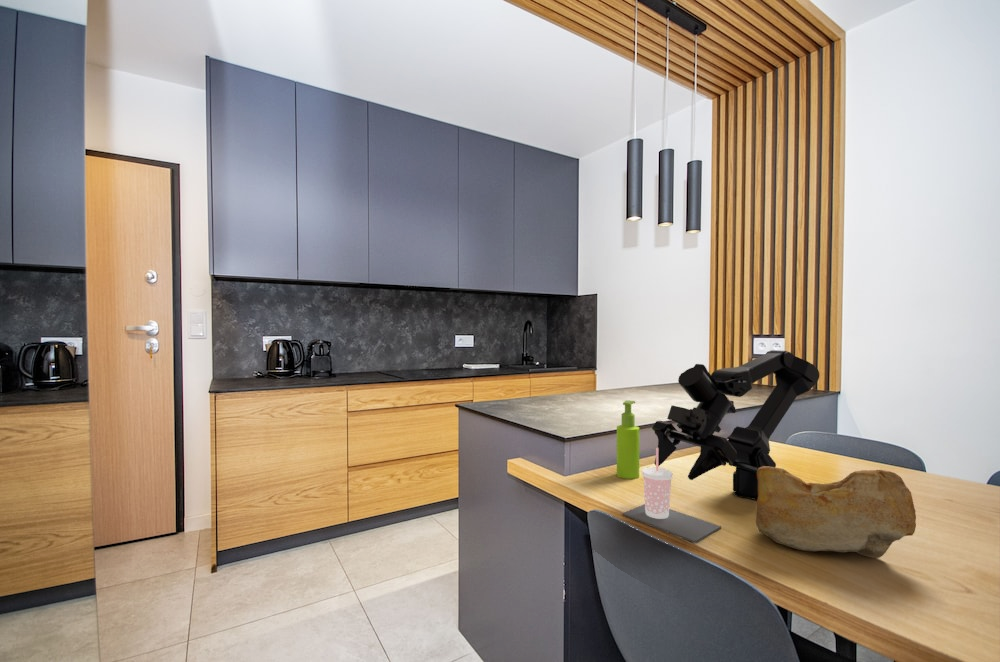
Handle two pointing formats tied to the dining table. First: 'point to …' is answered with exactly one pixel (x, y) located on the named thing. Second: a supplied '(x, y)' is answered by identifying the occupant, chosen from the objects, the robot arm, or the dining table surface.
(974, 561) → the dining table surface
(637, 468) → the soap dispenser
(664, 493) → the beverage cup
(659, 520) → the mat
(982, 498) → the dining table surface
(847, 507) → the rough brown rock
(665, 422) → the robot arm
